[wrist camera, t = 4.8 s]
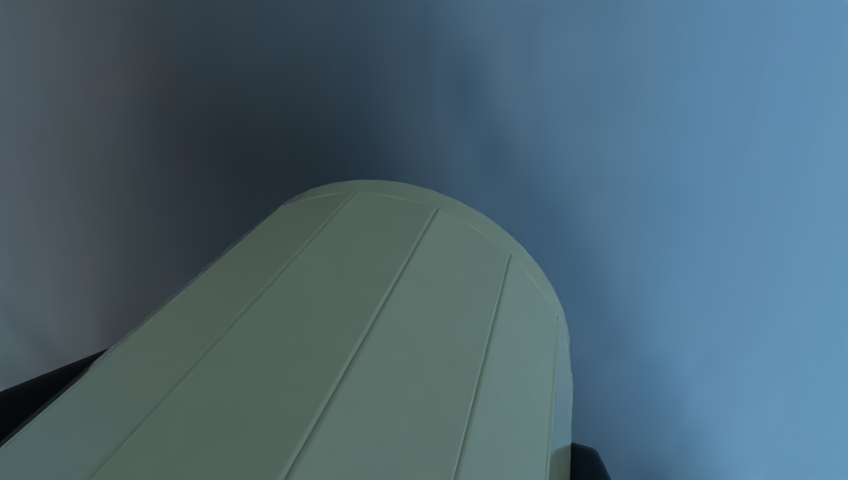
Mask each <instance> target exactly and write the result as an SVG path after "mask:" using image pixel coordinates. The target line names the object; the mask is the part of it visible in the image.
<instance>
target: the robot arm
mask: <svg viewBox="0 0 848 480" xmlns="http://www.w3.org/2000/svg"><path fill="white" fill-rule="evenodd" d="M107 350H108V349H106V350H104V351H101V352H99V353H96V354H94V355H91V356H89V357H86V358H84V359H81V360H79V361H76V362H74V363H71V364H69V365H66V366H64V367H61V368H59V369H56V370H54V371H51V372H49V373H46V374H44V375H41V376H39V377H36V378H34V379H31V380H29V381H26V382H24V383H21V384H19V385H16V386H14V387H11V388H9V389H6V390H4V391H1V392H0V441H1V440H3V439H4V438H5V437H6V436H7V435H8V434H10V433H11V432H12V431H13V430H14V429H15V428H17V427H18V426H19V425H20V424H21V423H22V422H24V421H25V420H26V419H27V418H28V417H30V416H31V415H32V414H33V413H34V412H35V411H37V410H38V409H39V408H40V407H41V406H42V405H44V404H45V403H46V402H47V401H48V400H50V399H51V398H52V397H53V396H54V395H55V394H57V393H58V392H59V391H60V390H61V389H62V388H64V387H65V386H66V385H67V384H68V383H70V382H71V381H72V380H73V379H74V378H75V377H77V376H78V375H79V374H80V373H81V372H82V371H84V370H85V369H86V368H87V367H88V366H90V365H91V364H92V363H93V362H94V361H95V360H97V359H98V358H99V357H100V356H101V355H102V354H104V353H105V352H106V351H107ZM570 480H611V478H610V476H609V474H608V472H607V470H606V468H605V466H604V464H603V462H602V460H601V458H600V456H599V454H598V452H597V451H596V450H595V449H594V448H591V447H587V446H584V445H580V444H576V443H573V442H571V459H570Z"/></svg>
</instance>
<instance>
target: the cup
mask: <svg viewBox="0 0 848 480" xmlns="http://www.w3.org/2000/svg"><path fill="white" fill-rule="evenodd" d="M570 353H571V346H570V338H569V331H568V325H567V322H566V319H565V315H564V312H563V308H562V306H561V303H560V301H559V299H558V297H557V295H556V293H555V291H554V288H553V286H552V285H551V283H550V282H549V280H548V278H547V277H546V275H545V274H544V272H543V271H542V269H541V268H540V266H539V265H538V264H537V262H536V261H535V260H534V259H533V258H532V257H531V255H530V254H529V253H528V252H527V251H526V250H525V248H524V247H523V246H522V245H521V244H520V243H519V242H518V241H516V240H515V239H514V238H513V237H512V236H511V235H510V234H509V233H508V232H507V231H505V230H504V229H503V228H502V227H501V226H499V225H498V224H496V223H495V222H493V221H492V220H491V219H489V218H488V217H486V216H485V215H484V214H482V213H481V212H479V211H477V210H475V209H473V208H471V207H470V206H468V205H466V204H464V203H462V202H460V201H458V200H456V199H454V198H451V197H449V196H446V195H444V194H441V193H439V192H436V191H434V190H430V189H426V188H423V187H419V186H415V185H411V184H407V183H400V182H393V181H386V180H351V181H343V182H335V183H331V184H327V185H323V186H320V187H316V188H312V189H310V190H308V191H306V192H303V193H301V194H299V195H297V196H294V197H292V198H291V199H289V200H288V201H286V202H285V203H283V204H282V205H280V206H279V207H277V208H276V209H275V210H274V211H272V212H271V213H270V214H269V215H268V216H266V217H265V218H264V219H263V220H262V221H261V222H260V223H258V224H257V225H256V226H254V227H253V228H252V229H251V230H249V231H248V232H247V233H245V234H244V235H243V236H242V237H240V238H239V239H238V240H236V241H235V242H234V243H233V244H232V245H231V246H229V247H228V248H227V249H226V250H225V251H224V252H222V253H221V254H220V255H219V256H218V257H216V258H215V259H214V260H213V261H212V262H211V263H209V264H208V265H207V266H206V267H205V268H204V269H202V270H201V271H200V272H199V273H198V274H197V275H195V276H194V277H193V278H192V279H191V280H189V281H188V282H187V283H186V284H185V285H184V286H182V287H181V288H180V289H179V290H178V291H177V292H175V293H174V294H173V295H172V296H171V297H169V298H168V299H167V300H166V301H165V302H164V303H162V304H161V305H160V306H159V307H158V308H157V309H155V310H154V311H153V312H152V313H151V314H149V315H148V316H147V317H146V318H145V319H144V320H142V321H141V322H140V323H139V324H138V325H137V326H135V327H134V328H133V329H132V330H131V331H129V332H128V333H127V334H126V335H125V336H124V337H122V338H121V339H120V340H119V341H118V342H117V343H115V344H114V345H113V346H112V347H111V348H109V349H108V350H107V351H106V352H105V353H104V354H102V355H101V356H100V357H99V358H98V359H97V360H95V361H94V362H93V363H92V364H91V365H90V366H88V367H87V368H86V369H85V370H84V371H82V372H81V373H80V374H79V375H78V376H77V377H75V378H74V379H73V380H72V381H71V382H70V383H68V384H67V385H66V386H65V387H64V388H62V389H61V390H60V391H59V392H58V393H57V394H55V395H54V396H53V397H52V398H51V399H50V400H48V401H47V402H46V403H45V404H44V405H42V406H41V407H40V408H39V409H38V410H37V411H35V412H34V413H33V414H32V415H31V416H30V417H28V418H27V419H26V420H25V421H24V422H22V423H21V424H20V425H19V426H18V427H17V428H15V429H14V430H13V431H12V432H11V433H10V434H8V435H7V436H6V437H5V438H4V439H3V440H1V441H0V480H570V459H571V429H572V400H573V377H572V372H571V367H570Z"/></svg>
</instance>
